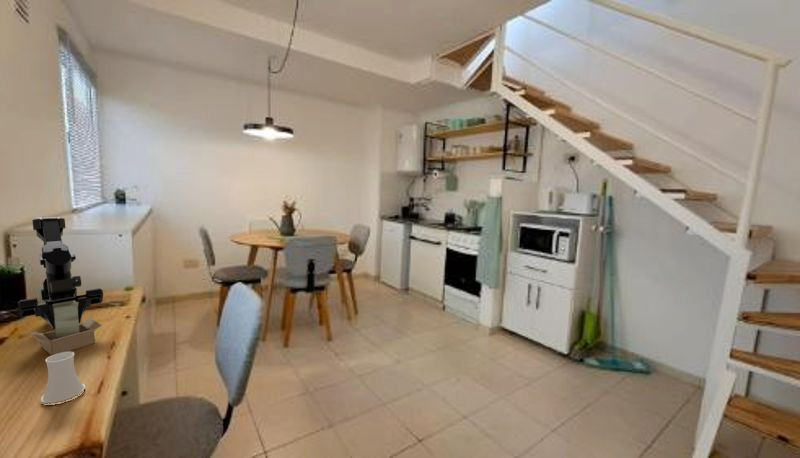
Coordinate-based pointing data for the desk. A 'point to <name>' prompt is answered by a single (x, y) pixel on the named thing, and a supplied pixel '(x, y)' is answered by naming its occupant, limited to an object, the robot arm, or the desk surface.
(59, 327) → the box
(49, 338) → the carton
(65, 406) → the desk surface
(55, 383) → the vase
